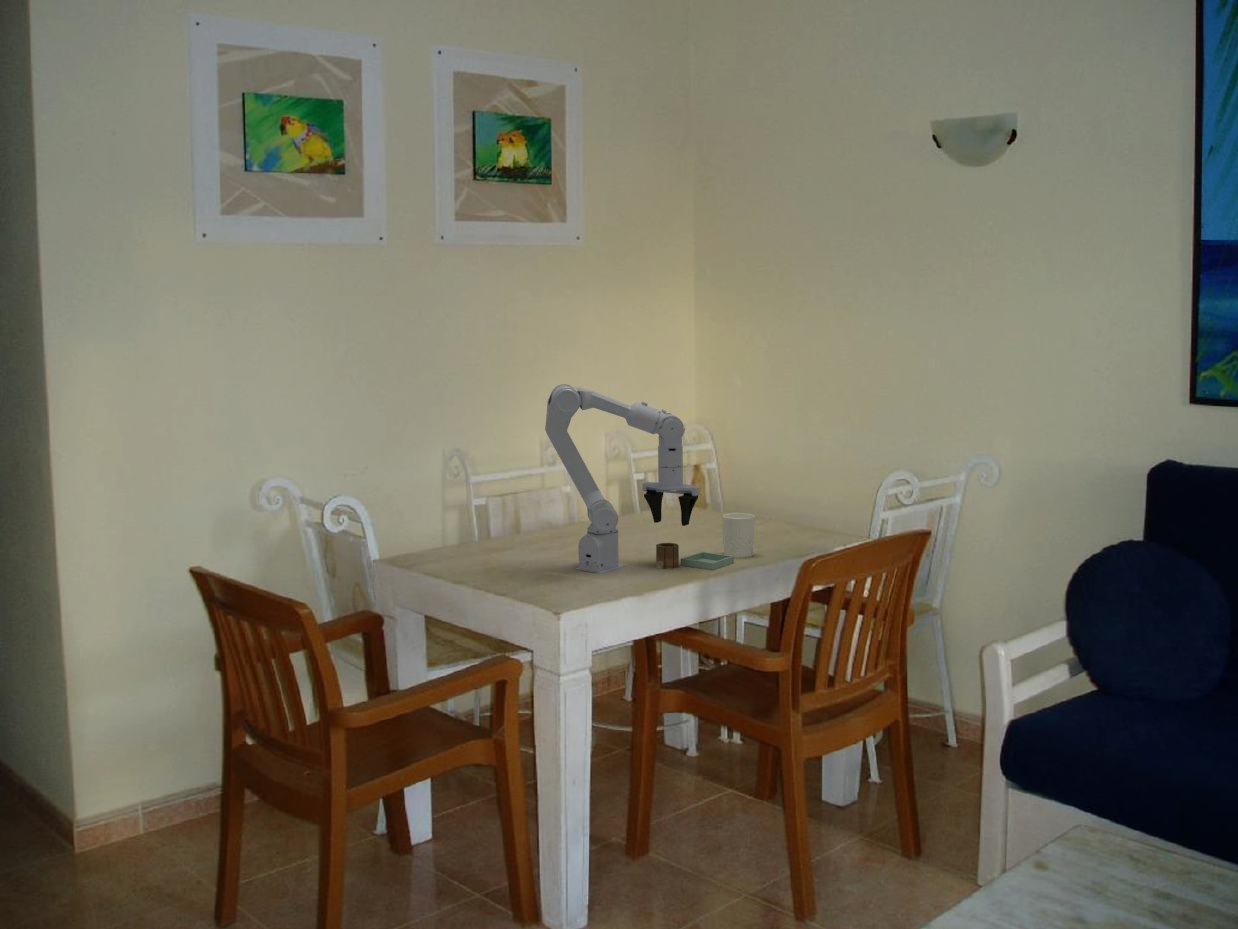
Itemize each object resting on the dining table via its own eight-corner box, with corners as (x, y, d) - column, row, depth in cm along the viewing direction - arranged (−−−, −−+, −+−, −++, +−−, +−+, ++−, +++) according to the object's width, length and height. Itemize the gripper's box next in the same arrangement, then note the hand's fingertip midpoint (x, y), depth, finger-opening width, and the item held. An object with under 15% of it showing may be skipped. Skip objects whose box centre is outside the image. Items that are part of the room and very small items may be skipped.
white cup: (760, 554, 313) (760, 514, 311) (746, 561, 306) (746, 519, 305) (730, 551, 317) (730, 511, 315) (716, 557, 310) (716, 516, 309)
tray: (712, 571, 295) (712, 563, 295) (680, 566, 301) (680, 558, 300) (733, 564, 302) (733, 556, 302) (701, 559, 308) (701, 551, 307)
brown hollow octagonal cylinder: (664, 562, 303) (664, 542, 303) (682, 565, 300) (682, 544, 300) (650, 567, 299) (649, 546, 298) (667, 570, 296) (667, 549, 295)
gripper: (706, 465, 298) (706, 523, 300) (653, 461, 306) (654, 517, 308) (690, 470, 292) (691, 528, 294) (637, 465, 300) (638, 522, 302)
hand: (671, 523), depth 300 cm, fingers open, 7 cm apart
